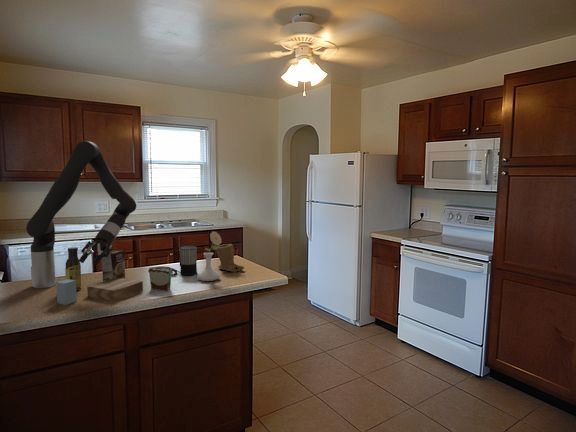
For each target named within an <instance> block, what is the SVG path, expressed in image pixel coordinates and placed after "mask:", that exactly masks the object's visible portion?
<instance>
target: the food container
mask: <svg viewBox="0 0 576 432" xmlns="http://www.w3.org/2000/svg"><path fill="white" fill-rule="evenodd" d="M171 268H172V267H170V266H152V267H149V268H148V270H147V272H148V274H149V281H150V290H155V291H162V292H170V291H171V284H172V282H171V281H172V276H171V274H174V273H173V272H174V271H172V269H171Z"/></svg>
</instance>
